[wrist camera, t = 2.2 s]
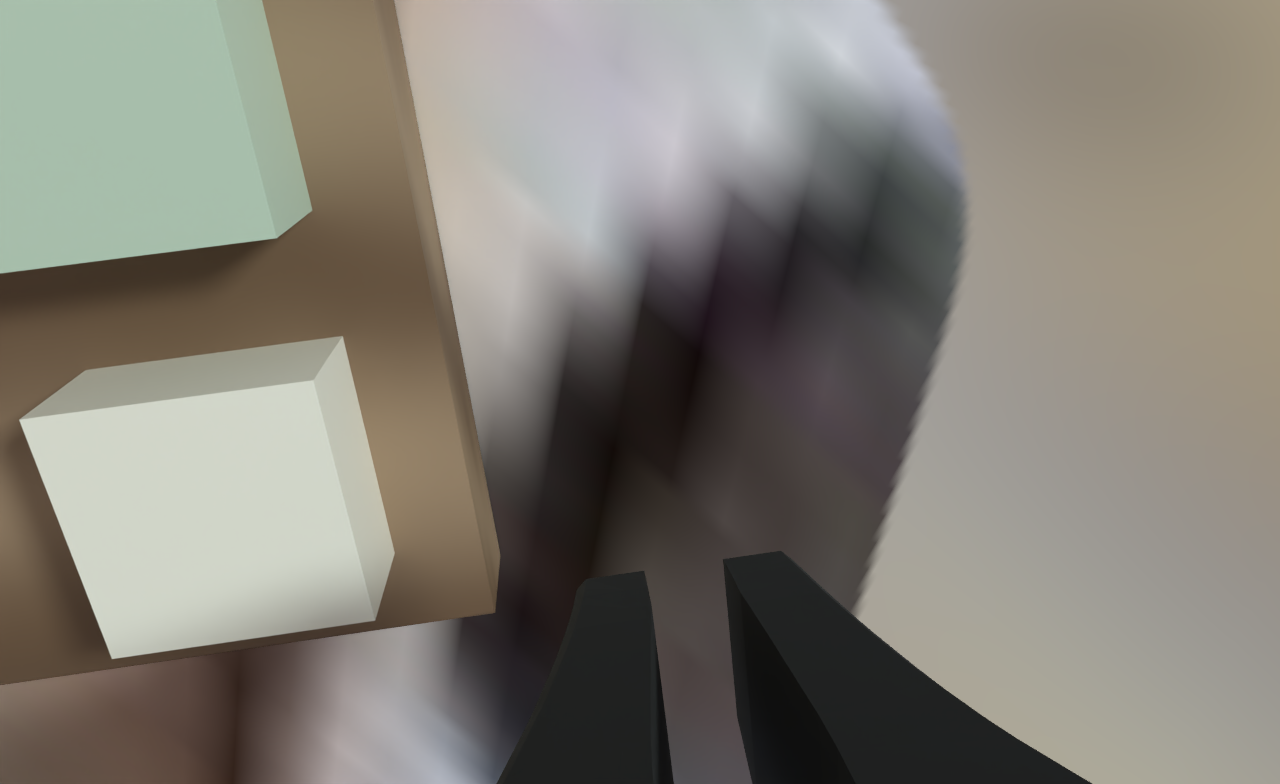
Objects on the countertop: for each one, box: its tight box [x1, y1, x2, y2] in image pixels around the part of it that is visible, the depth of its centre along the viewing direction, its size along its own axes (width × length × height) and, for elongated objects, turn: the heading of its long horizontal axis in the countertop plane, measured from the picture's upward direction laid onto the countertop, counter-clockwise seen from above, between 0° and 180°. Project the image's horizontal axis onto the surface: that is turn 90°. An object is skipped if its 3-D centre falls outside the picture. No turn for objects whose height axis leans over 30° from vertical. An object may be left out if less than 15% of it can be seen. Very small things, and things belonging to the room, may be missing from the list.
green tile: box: [0, 0, 312, 273], centre depth 12 cm, size 4×4×2 cm
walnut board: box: [0, 0, 500, 685], centre depth 15 cm, size 12×9×2 cm
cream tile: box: [19, 336, 395, 659], centre depth 15 cm, size 4×4×2 cm
